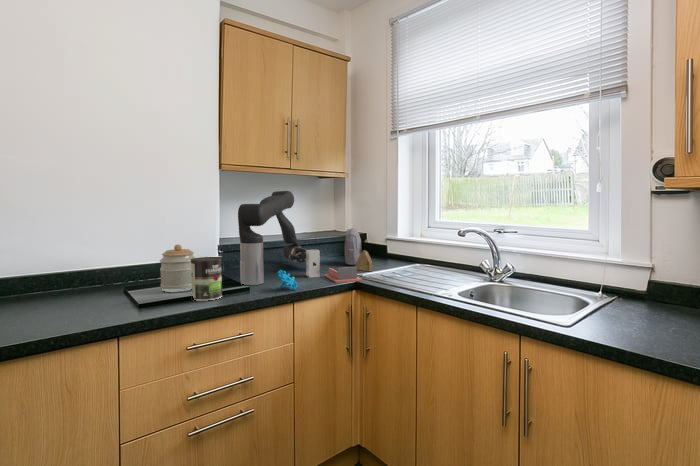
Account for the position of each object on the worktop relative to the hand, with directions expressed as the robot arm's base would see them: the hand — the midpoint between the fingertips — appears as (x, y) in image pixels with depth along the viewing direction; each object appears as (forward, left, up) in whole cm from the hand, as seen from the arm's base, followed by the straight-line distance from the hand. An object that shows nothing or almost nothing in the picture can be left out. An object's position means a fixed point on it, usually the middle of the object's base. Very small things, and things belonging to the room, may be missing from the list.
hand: (307, 258), depth 182 cm
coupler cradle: (+11, -19, -7) cm, 23 cm away
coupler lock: (0, -9, -7) cm, 11 cm away
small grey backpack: (+30, +15, -7) cm, 34 cm away
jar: (-56, -16, -7) cm, 59 cm away
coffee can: (-46, -34, -7) cm, 58 cm away
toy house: (+28, -3, -7) cm, 29 cm away
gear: (-16, -31, -7) cm, 35 cm away
